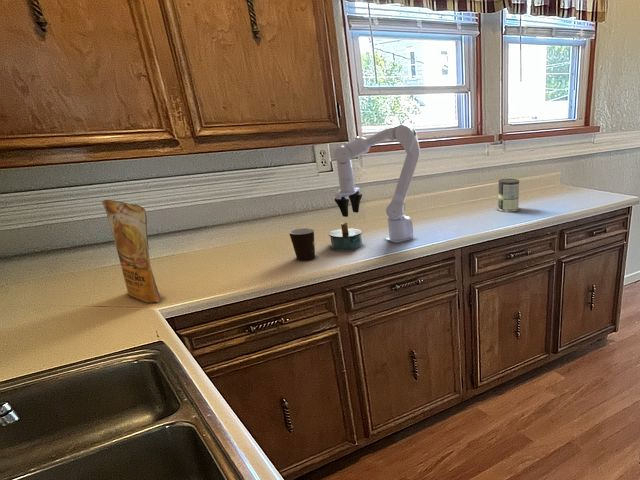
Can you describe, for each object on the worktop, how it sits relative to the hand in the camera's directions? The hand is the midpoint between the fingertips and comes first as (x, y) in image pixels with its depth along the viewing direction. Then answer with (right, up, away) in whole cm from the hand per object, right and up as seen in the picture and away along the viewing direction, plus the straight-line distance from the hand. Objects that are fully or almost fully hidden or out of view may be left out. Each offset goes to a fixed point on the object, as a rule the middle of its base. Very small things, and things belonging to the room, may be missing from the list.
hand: (350, 214), depth 208 cm
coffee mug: (-12, -20, -15) cm, 28 cm away
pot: (0, -14, -4) cm, 15 cm away
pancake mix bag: (-50, -39, -49) cm, 80 cm away
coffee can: (+66, +17, +53) cm, 87 cm away
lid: (0, -9, -7) cm, 12 cm away
